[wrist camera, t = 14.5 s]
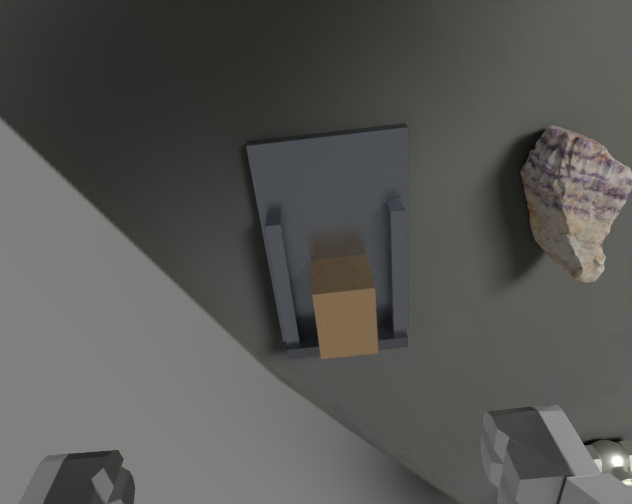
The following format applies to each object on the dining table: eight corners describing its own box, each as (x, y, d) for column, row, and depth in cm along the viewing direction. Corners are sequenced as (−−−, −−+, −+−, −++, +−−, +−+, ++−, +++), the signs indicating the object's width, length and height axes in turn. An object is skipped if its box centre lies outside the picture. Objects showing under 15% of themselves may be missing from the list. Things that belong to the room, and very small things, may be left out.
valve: (575, 429, 56) (637, 531, 46) (630, 422, 56) (705, 524, 46) (567, 462, 60) (623, 564, 50) (619, 456, 60) (686, 557, 49)
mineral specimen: (613, 227, 42) (659, 265, 37) (534, 254, 43) (567, 294, 38) (602, 93, 36) (656, 115, 30) (510, 129, 37) (546, 156, 32)
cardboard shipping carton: (366, 254, 41) (375, 288, 37) (370, 316, 45) (378, 353, 40) (310, 261, 41) (312, 294, 37) (318, 322, 45) (321, 359, 41)
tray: (405, 123, 36) (415, 137, 33) (406, 322, 46) (414, 346, 44) (247, 141, 36) (242, 157, 33) (283, 335, 47) (282, 360, 44)
